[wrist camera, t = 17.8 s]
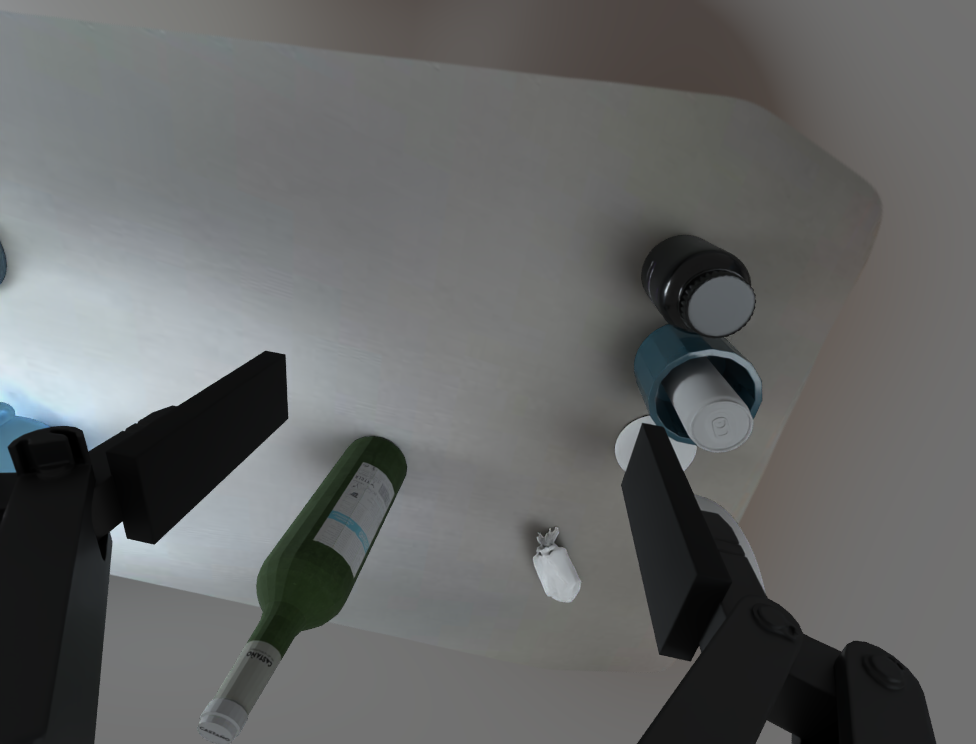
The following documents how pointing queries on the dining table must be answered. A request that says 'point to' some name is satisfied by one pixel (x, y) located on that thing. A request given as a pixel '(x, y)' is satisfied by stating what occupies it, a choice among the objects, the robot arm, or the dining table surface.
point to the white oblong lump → (556, 569)
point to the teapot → (13, 433)
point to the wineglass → (685, 458)
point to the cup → (677, 348)
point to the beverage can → (708, 406)
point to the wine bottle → (310, 573)
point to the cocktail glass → (2, 264)
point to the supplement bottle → (698, 287)
